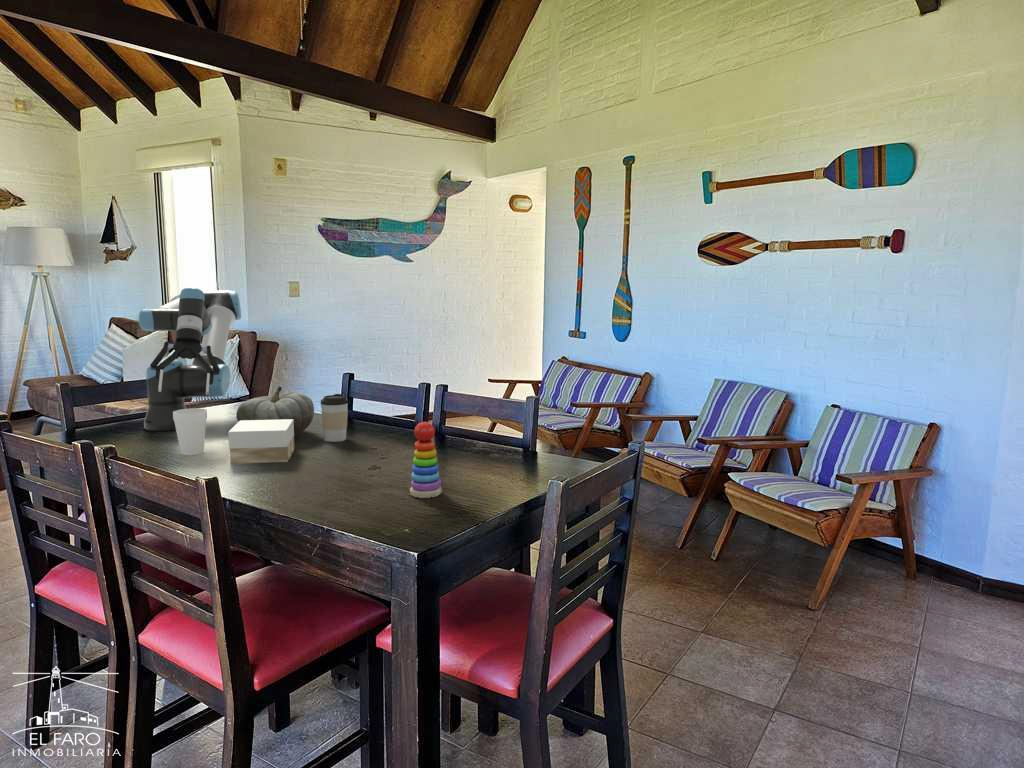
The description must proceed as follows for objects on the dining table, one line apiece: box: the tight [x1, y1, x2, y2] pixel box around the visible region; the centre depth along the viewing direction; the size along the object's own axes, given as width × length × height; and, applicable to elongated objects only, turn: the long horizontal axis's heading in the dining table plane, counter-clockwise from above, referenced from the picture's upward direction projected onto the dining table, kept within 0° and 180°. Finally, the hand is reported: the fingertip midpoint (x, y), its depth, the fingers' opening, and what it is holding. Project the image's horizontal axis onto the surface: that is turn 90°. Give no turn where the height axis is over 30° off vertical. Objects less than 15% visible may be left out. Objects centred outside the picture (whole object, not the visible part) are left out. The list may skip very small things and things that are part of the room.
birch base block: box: [229, 436, 296, 465], centre depth 209 cm, size 16×16×5 cm
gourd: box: [236, 385, 315, 437], centre depth 234 cm, size 25×25×17 cm
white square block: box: [228, 419, 295, 450], centre depth 208 cm, size 16×16×5 cm
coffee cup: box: [319, 393, 349, 443], centre depth 230 cm, size 9×9×15 cm
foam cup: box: [173, 407, 208, 456], centre depth 210 cm, size 10×9×13 cm
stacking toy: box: [409, 421, 443, 499], centre depth 172 cm, size 8×8×19 cm
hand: (183, 391), depth 218 cm, fingers open, 13 cm apart
